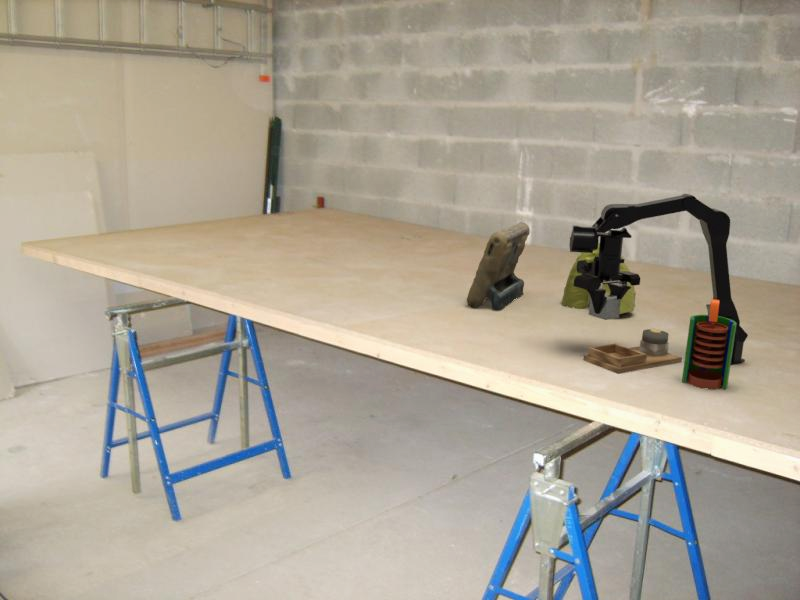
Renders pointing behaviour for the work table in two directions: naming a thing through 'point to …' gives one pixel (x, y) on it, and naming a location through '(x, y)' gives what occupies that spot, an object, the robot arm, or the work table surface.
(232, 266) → the work table surface
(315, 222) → the work table surface
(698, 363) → the motor
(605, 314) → the stepped grey block
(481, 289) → the tablet
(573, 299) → the lungs
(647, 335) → the grey knob
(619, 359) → the wooden tray
